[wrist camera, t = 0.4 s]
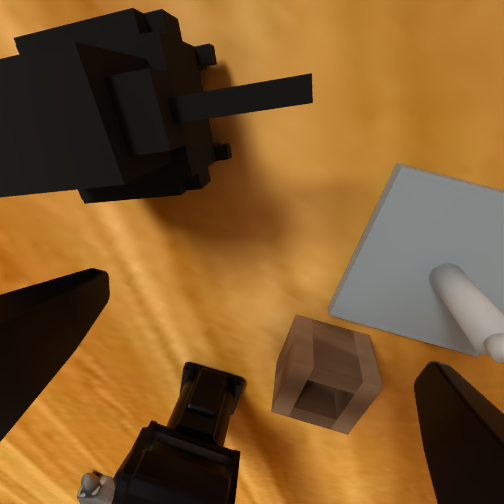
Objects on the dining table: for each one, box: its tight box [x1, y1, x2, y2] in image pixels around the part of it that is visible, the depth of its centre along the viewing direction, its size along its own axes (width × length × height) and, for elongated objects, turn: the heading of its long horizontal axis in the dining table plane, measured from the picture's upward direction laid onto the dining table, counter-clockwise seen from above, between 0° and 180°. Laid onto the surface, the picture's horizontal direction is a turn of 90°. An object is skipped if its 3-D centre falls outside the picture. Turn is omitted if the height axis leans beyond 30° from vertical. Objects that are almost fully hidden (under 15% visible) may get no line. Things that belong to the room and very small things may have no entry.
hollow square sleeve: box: [271, 315, 383, 435], centre depth 24 cm, size 6×6×5 cm
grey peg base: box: [328, 163, 504, 364], centre depth 17 cm, size 12×12×8 cm
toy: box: [0, 8, 313, 204], centre depth 13 cm, size 8×14×10 cm, turn 98°
